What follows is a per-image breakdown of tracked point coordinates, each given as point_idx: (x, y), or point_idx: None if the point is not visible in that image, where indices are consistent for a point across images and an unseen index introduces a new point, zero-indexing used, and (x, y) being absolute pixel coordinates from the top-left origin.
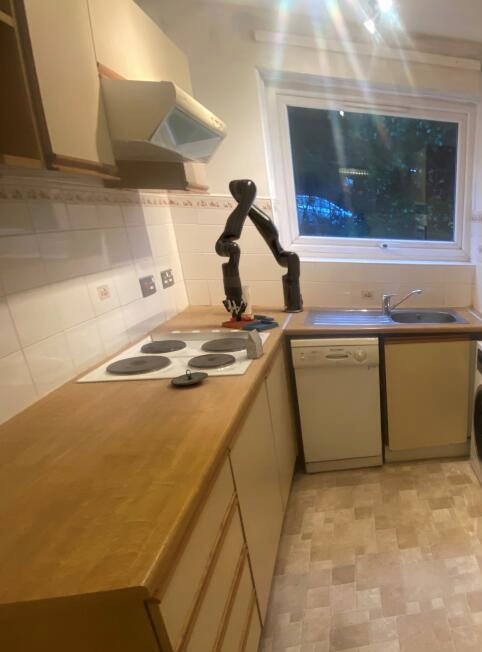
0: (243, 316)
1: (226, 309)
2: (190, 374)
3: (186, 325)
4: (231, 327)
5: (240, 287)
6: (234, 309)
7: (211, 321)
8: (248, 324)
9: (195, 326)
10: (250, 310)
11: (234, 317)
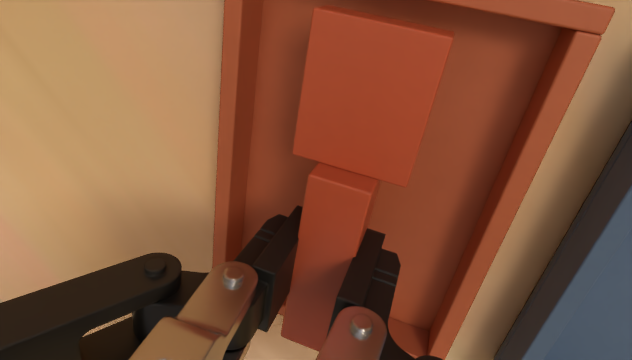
0: (313, 70)
1: (113, 338)
2: None
3: (9, 255)
4: None
5: None
6: (211, 324)
7: (7, 81)
8: (554, 340)
9: (73, 277)
10: None
11: (295, 287)
